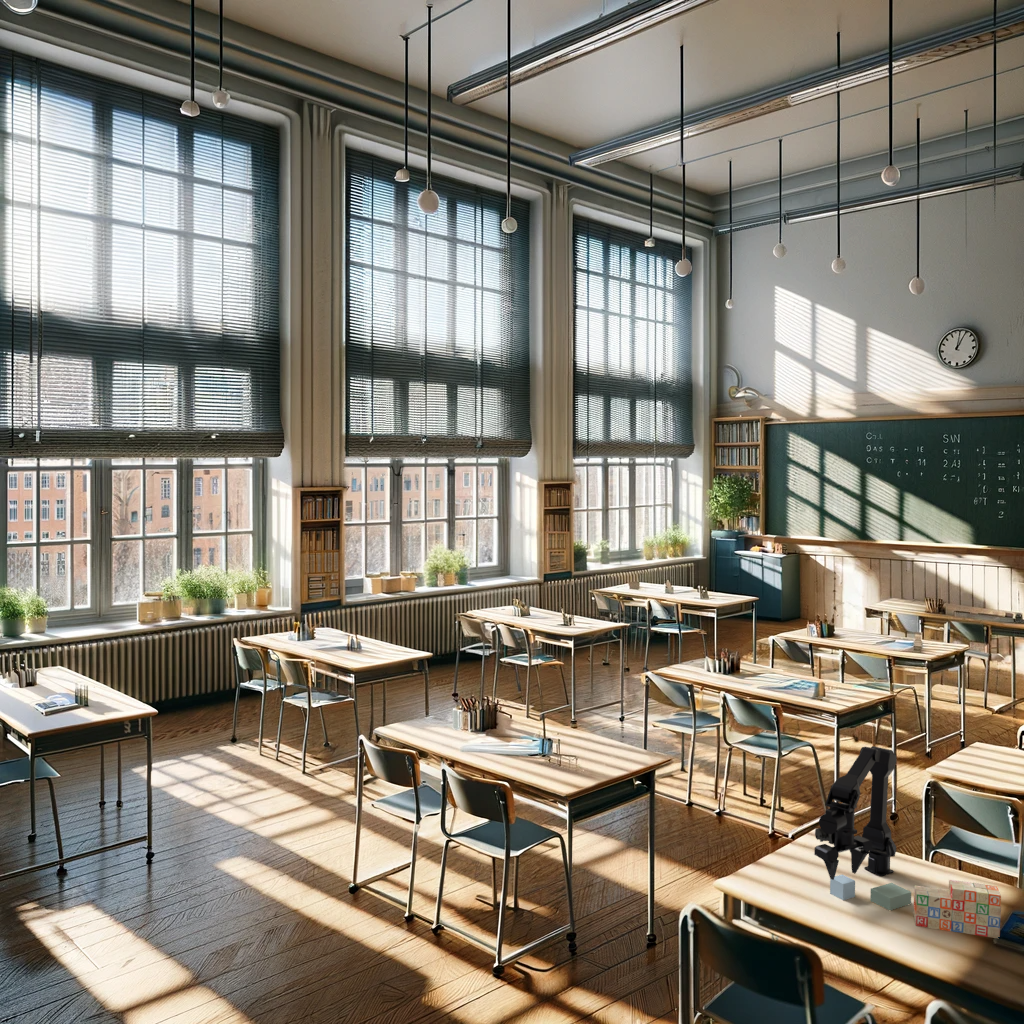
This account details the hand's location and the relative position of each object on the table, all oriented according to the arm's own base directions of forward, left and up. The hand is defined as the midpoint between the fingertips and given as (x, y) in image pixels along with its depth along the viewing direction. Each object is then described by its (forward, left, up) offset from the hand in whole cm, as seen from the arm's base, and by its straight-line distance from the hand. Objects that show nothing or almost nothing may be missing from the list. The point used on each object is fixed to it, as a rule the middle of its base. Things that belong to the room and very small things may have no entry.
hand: (843, 876), depth 279 cm
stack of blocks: (-13, +29, -6) cm, 32 cm away
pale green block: (-9, +10, -6) cm, 15 cm away
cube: (0, 0, -6) cm, 6 cm away
